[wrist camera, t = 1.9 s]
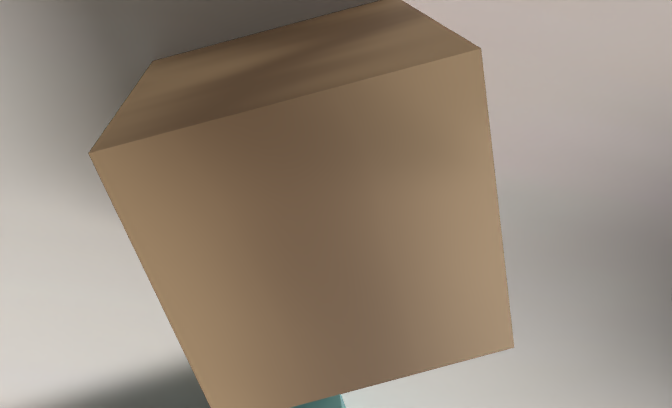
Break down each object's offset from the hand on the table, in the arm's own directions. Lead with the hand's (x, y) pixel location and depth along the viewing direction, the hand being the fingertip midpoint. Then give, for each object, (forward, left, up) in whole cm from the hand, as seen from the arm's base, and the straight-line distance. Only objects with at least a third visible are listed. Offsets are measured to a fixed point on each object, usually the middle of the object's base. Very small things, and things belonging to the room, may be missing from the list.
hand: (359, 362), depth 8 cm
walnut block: (0, 0, -8) cm, 8 cm away
